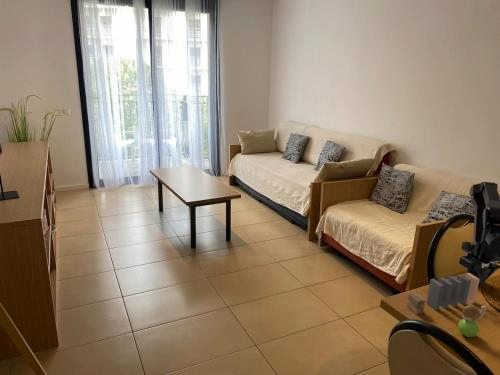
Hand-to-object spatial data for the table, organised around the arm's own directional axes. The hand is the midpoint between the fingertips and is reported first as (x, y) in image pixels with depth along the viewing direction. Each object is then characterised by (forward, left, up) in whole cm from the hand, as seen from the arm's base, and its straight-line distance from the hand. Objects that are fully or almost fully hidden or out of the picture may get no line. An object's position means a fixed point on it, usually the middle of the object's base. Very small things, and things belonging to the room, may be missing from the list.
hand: (481, 281), depth 133 cm
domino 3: (+11, -6, -7) cm, 14 cm away
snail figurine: (+25, +3, -7) cm, 26 cm away
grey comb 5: (+17, -10, -7) cm, 21 cm away
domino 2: (+14, -8, -7) cm, 17 cm away
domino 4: (+7, -4, -7) cm, 11 cm away
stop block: (+24, -14, -6) cm, 28 cm away
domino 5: (+4, -2, -7) cm, 8 cm away
